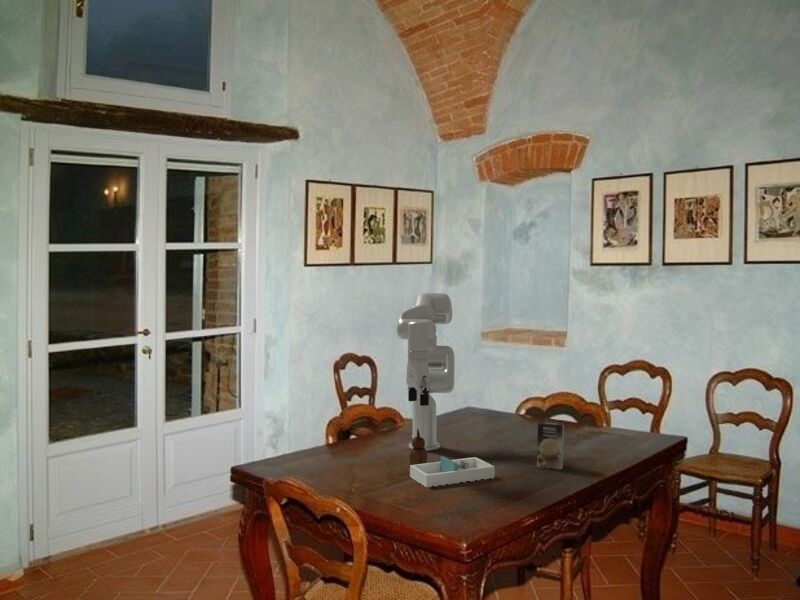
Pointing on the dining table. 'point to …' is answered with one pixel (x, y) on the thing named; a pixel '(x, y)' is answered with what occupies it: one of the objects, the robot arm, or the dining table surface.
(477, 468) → the lane
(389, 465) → the dining table surface
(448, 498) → the dining table surface
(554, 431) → the coffee box
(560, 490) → the dining table surface
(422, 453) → the wooden figurine
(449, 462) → the pusher paddle
